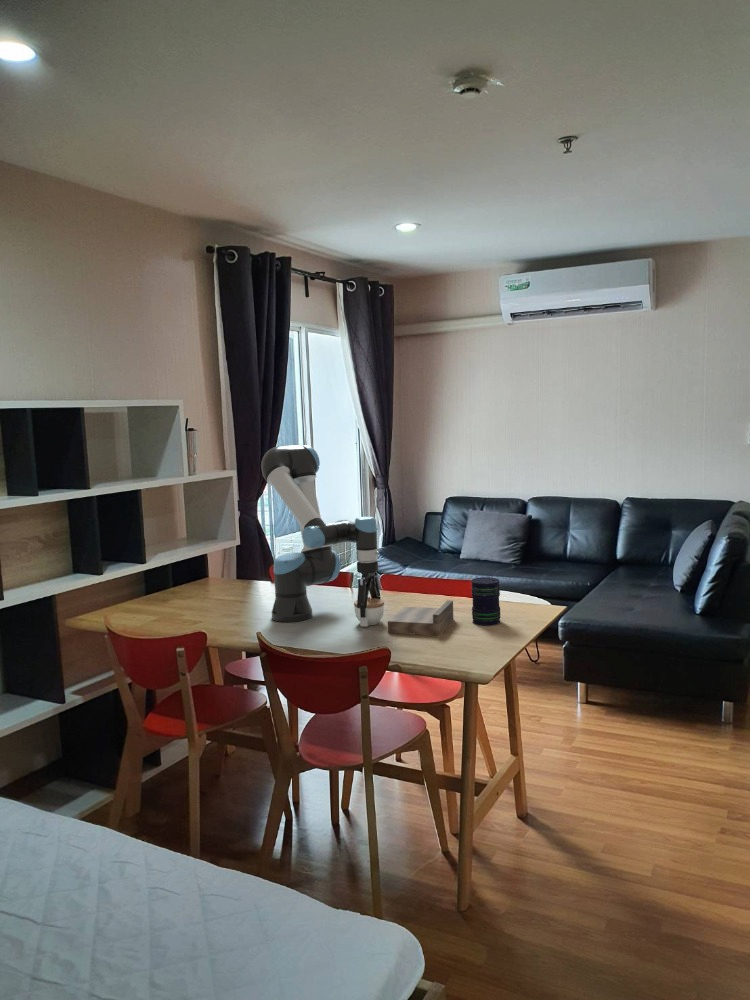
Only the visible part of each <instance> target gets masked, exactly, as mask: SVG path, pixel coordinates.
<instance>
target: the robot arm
mask: <svg viewBox="0 0 750 1000" xmlns="http://www.w3.org/2000/svg"><path fill="white" fill-rule="evenodd" d="M320 465H321V462H320V457H319V455H318V453H317V450H315V448H313V447H312V446H311V445H306V444H304V445H303V444H296V445H285V446H284V445H283V446H279V445H278V446H274V447H272V448H270V449H268V450H267V452H265V454H264V456H263V457H262V460H261V466H260V467H261V472H262V476H263V478H264V480H265V481H266V483H267V484H268V485H269V486H270V487H273V488H274V490H275V491H276V493H277V494H278V495H279V497H280V499H281V500H282V501H283V503H284V504H285V505H286V507H287V508H288V510H289V511H290V513H291V514H292V515H293V517H294V519H295V520H296V521H297V523H298V524H299V529H300V533H301V539H302V544H303V548H302V549H301V551H300V552H291V553H290V552H289V553H285V554H282V555H280V556H277V557H276V558H275V559H274V561H273V570H272V571H273V576H274V577H273V578H274V595H275V596H274V597H275V598H274V602H273V606H272V610H271V619H272V620H273V621H275V622H278V623H279V622H280V623H281V622H282V623H292V622H301V621H307V620H309V619H311V618H312V617H313V608H312V606H311V602H310V601H309V598H308V594H307V592H308V590H307V587H311V586H314V585H315V586H316V585H319V584H325V583H329V582H332V581H334V580H335V579H337V577H338V576H339V574H340V571H341V566H342V565H341V559H340V556H339V554H338V552H336V551H334V550H332V546H331V545H337V544H338V545H339V544H344V543H353V544H355V551H356V554H355V555H356V556H355V557H356V561H357V562H356V570H357V573H359V574H360V575H361V578H358V580H357V582H358V583H357V584H358V585H357V587H358V588H357V589H358V590H357V599H356V601H357V608H360V621H359V626H360V627H369V625H368V608H366V607H367V600H368V597H369V595H370V598H377V599H381V598H382V597H381V590H380V585H379V578H378V577H379V576H378V572H379V561H378V559H379V558H378V555H379V553H380V552H379V551H378V527H377V519H376V518H375V517H374V516H358V517H356V518H355V519H354V521H353V520H349V519H348V520H347V519H339V520H336V521H335V522H333V523H332V522H331V523H325V522H324V520H323V519H322V518H321V513H320V512H321V511H320V507H319V502H318V497H317V494H316V489H315V484H314V482H315V480H316V478H317V472H319V469H320V467H319V466H320ZM381 600H382V599H381Z"/></svg>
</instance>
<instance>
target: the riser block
mask: <svg viewBox="0 0 750 1000" xmlns="http://www.w3.org/2000/svg"><path fill="white" fill-rule="evenodd" d="M454 620H455V619H454V600H446V601H445V602H444V603H443V604H442V605H441V606H440V607H438V608H437V607H423V606H421V607H417V606H404V607H403V608H401V609H400V610H399V611H398V612H397V613H396V614H395V615H393V616H391V618H390V619H388V620H387V633H388V632H389V633H391V634H403V633H415V634H414V635H421V634H427V635H426V636H439V635H440V636H441V635H442V633H444V631H445V630H446V629H447V628H448V627H449V625H450V624H451V623H453V622H454ZM428 634H429V635H428Z"/></svg>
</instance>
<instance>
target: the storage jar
mask: <svg viewBox="0 0 750 1000" xmlns="http://www.w3.org/2000/svg"><path fill="white" fill-rule="evenodd" d="M470 582H471V584H470V585H471V591H470V592H471V597H472V607H471V616H472V624H473V625H476V626H480V627H481V626H482V627H492V626H493V627H494V626H496V625H500V624H501V619H500V618H501V606H500V595H501V589H500V588H501V587H500V579H499V578H495V577H488V576H487V577H476V578H472V579H471V581H470Z"/></svg>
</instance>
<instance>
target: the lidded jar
mask: <svg viewBox="0 0 750 1000" xmlns="http://www.w3.org/2000/svg"><path fill="white" fill-rule="evenodd" d="M353 606H354V614H355V618H356V619H357V620H358V622H360V608H357V600H355V601H354V602H353ZM366 608H368V626H375V625H378V624H379V622H380V621H381V620H382V619H383V617H384V611H385V601H384V600H383V599H377V598H371V596H368V600H367V607H366Z"/></svg>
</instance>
